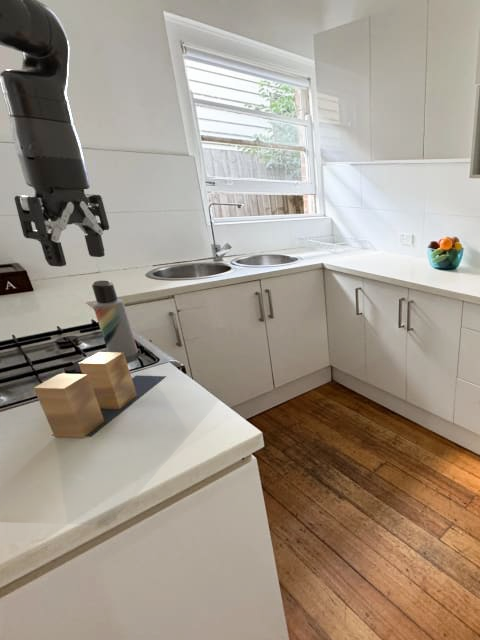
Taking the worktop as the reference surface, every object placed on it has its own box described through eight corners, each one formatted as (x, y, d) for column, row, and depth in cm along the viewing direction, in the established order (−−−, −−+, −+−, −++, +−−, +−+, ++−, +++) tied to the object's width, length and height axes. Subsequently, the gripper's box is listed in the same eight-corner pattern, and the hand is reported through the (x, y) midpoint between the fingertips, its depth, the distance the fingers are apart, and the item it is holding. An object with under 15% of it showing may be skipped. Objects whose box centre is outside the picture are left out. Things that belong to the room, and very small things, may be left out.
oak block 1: (83, 438, 67) (63, 388, 62) (54, 437, 66) (33, 387, 62) (104, 421, 71) (87, 374, 67) (78, 420, 71) (59, 373, 67)
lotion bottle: (131, 353, 98) (108, 277, 90) (144, 358, 96) (122, 280, 88) (106, 362, 93) (80, 282, 85) (120, 367, 91) (94, 286, 83)
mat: (92, 438, 67) (91, 436, 67) (52, 437, 67) (51, 435, 67) (167, 377, 87) (166, 376, 87) (136, 376, 87) (136, 375, 87)
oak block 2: (120, 409, 75) (105, 363, 71) (94, 408, 75) (78, 363, 71) (137, 395, 79) (123, 352, 75) (113, 395, 79) (98, 351, 75)
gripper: (63, 156, 64) (87, 252, 70) (-23, 148, 51) (15, 267, 57) (109, 159, 65) (129, 255, 71) (36, 152, 52) (68, 271, 58)
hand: (78, 260), depth 64 cm, fingers open, 8 cm apart
